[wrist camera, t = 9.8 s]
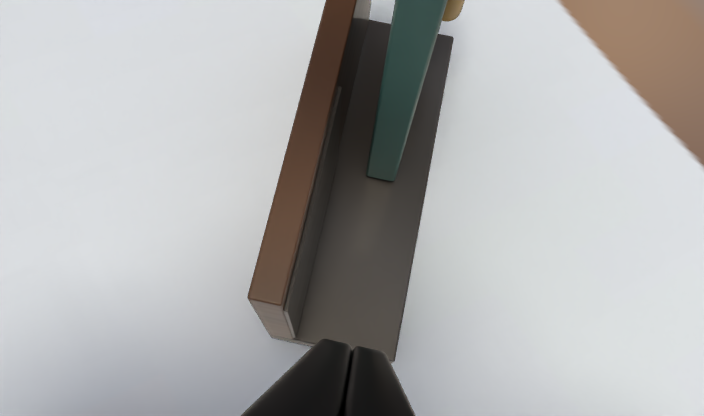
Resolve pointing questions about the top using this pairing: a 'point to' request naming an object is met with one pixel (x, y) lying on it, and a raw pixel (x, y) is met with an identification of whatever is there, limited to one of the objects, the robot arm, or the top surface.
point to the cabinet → (346, 195)
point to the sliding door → (404, 78)
